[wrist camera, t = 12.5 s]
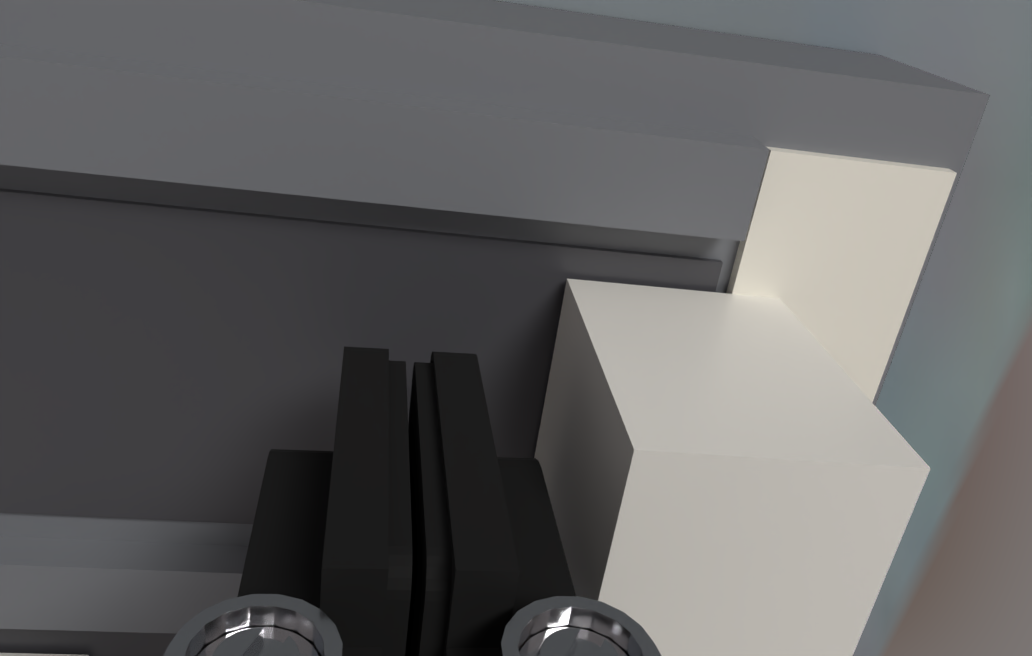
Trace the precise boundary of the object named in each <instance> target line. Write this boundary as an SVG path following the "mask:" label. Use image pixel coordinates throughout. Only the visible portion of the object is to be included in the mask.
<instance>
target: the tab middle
mask: <svg viewBox="0 0 1032 656" xmlns="http://www.w3.org/2000/svg"><path fill="white" fill-rule="evenodd" d="M0 656H89V655H76V654H33V653H0Z"/></svg>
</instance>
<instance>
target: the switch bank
mask: <svg viewBox="0 0 1032 656" xmlns="http://www.w3.org/2000/svg"><path fill="white" fill-rule="evenodd" d="M989 97H990V95H988V94H986V93H983V92H980V91H977V90H975V89H972V88H969V87H966V86H964V85H961V84H958V83H956V82H953V81H950V80H947V79H945V78H942V77H939V76H936V75H934V74H931V73H928V72H925V71H923V70H920V69H917V68H915V67H912V66H909V65H906V64H904V63H901V62H898V61H895V60H893V59H890V58H887V57H884V56H882V55H876V54H869V53H862V52H855V51H848V50H841V49H833V48H826V47H819V46H812V45H805V44H798V43H791V42H784V41H777V40H770V39H763V38H756V37H749V36H742V35H735V34H728V33H720V32H713V31H706V30H699V29H692V28H685V27H678V26H671V25H664V24H657V23H650V22H643V21H636V20H629V19H622V18H614V17H607V16H600V15H593V14H586V13H579V12H572V11H565V10H558V9H551V8H544V7H537V6H530V5H523V4H516V3H508V2H501V1H494V0H0V653H33V654H76V655H89V656H163V655H164V653H165V651H166V649H167V647H168V645H169V644H170V642H171V641H172V640H173V638H174V637H175V635H176V634H177V633H178V631H179V630H180V629H181V627H182V626H183V625H184V624H185V623H187V622H188V621H189V620H191V619H192V618H193V617H194V616H196V615H197V614H198V613H200V612H201V611H202V610H204V609H206V608H209V607H211V606H213V605H215V604H218V603H220V602H222V601H224V600H227V599H231V598H236V597H237V596H238V592H239V587H240V583H241V578H242V573H243V569H244V564H245V560H246V555H247V550H248V546H249V541H250V536H251V532H252V527H253V523H254V518H255V513H256V509H257V504H258V500H259V495H260V490H261V486H262V481H263V476H264V472H265V467H266V463H267V458H268V455H269V451H270V450H271V449H284V450H313V451H334V441H335V431H336V421H337V411H338V401H339V391H340V381H341V371H342V361H343V352H344V346H345V347H363V348H382V349H389V360H390V361H406V379H407V408H408V421H409V410H410V398H411V387H412V375H413V366H414V362H423V363H430V359H431V354H432V352H451V353H470V354H476V355H477V358H478V363H479V368H480V373H481V378H482V383H483V388H484V393H485V398H486V403H487V408H488V413H489V419H490V424H491V429H492V434H493V439H494V444H495V449H496V454H497V457H511V458H534V456H535V451H536V445H537V440H538V434H539V429H540V423H541V418H542V412H543V407H544V401H545V396H546V390H547V385H548V379H549V374H550V369H551V363H552V358H553V352H554V347H555V341H556V336H557V330H558V325H559V319H560V314H561V308H562V303H563V297H564V292H565V286H566V281H567V279H578V280H588V281H599V282H610V283H621V284H631V285H642V286H653V287H664V288H674V289H685V290H696V291H707V292H717V293H728V294H739V295H749V296H760V297H771V298H780V299H781V301H782V302H783V303H784V304H785V305H786V306H787V307H788V308H789V310H790V311H791V312H792V313H793V314H794V315H795V316H796V317H797V319H798V320H799V321H800V322H801V323H802V324H803V325H804V326H805V328H806V329H807V330H808V331H809V332H810V333H811V334H812V335H813V337H814V338H815V339H816V340H817V341H818V342H819V343H820V344H821V346H822V347H823V348H824V349H825V350H826V351H827V352H828V353H829V355H830V356H831V357H832V358H833V359H834V360H835V361H836V363H837V364H838V365H839V366H840V367H841V368H842V369H843V370H844V372H845V373H846V374H847V375H848V376H849V377H850V378H851V379H852V381H853V382H854V383H855V384H856V385H857V386H858V387H859V388H860V390H861V391H862V392H863V393H864V394H865V395H866V396H867V397H868V399H869V400H870V401H871V402H872V403H873V404H874V405H876V402H877V400H878V397H879V394H880V391H881V389H882V386H883V383H884V381H885V378H886V375H887V373H888V370H889V367H890V364H891V362H892V359H893V356H894V354H895V351H896V348H897V346H898V343H899V340H900V337H901V335H902V332H903V329H904V327H905V324H906V321H907V319H908V316H909V313H910V310H911V308H912V305H913V302H914V300H915V297H916V294H917V292H918V289H919V286H920V283H921V281H922V278H923V275H924V273H925V270H926V267H927V265H928V262H929V259H930V256H931V254H932V251H933V248H934V246H935V243H936V240H937V238H938V235H939V232H940V229H941V227H942V224H943V221H944V219H945V216H946V213H947V211H948V208H949V205H950V202H951V200H952V197H953V194H954V192H955V189H956V186H957V184H958V181H959V178H960V175H961V173H962V170H963V167H964V165H965V162H966V159H967V157H968V154H969V151H970V148H971V146H972V143H973V140H974V138H975V135H976V132H977V129H978V127H979V124H980V121H981V119H982V116H983V113H984V111H985V108H986V105H987V102H988V100H989Z"/></svg>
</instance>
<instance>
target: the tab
mask: <svg viewBox="0 0 1032 656" xmlns="http://www.w3.org/2000/svg"><path fill="white" fill-rule="evenodd" d="M534 458H536V459H537V460H538V461H539V463H540V466H541V468H542V472H543V476H544V479H545V483H546V487H547V490H548V494H549V498H550V501H551V505H552V509H553V512H554V516H555V520H556V524H557V527H558V531H559V535H560V538H561V542H562V546H563V549H564V553H565V557H566V560H567V564H568V568H569V572H570V575H571V579H572V583H573V586H574V590H575V594H576V596H580V597H584V598H588V599H592V600H597V601H601V602H604V603H606V604H608V605H610V606H612V607H614V608H616V609H619V610H621V611H623V612H624V613H626V614H627V615H628V616H629V617H631V618H632V619H633V620H635V621H636V622H637V623H638V624H640V625H641V626H642V627H643V629H644V630H645V631H646V633H647V634H648V635H649V636H650V638H651V639H652V640H653V642H654V643H655V645H656V647H657V648H658V650H659V652H660V654H661V656H853V653H854V651H855V649H856V646H857V644H858V641H859V639H860V637H861V634H862V632H863V629H864V627H865V625H866V622H867V620H868V617H869V615H870V613H871V610H872V608H873V605H874V603H875V601H876V598H877V596H878V593H879V591H880V589H881V586H882V584H883V581H884V579H885V577H886V574H887V572H888V569H889V567H890V565H891V562H892V560H893V557H894V555H895V553H896V550H897V548H898V545H899V543H900V541H901V538H902V536H903V533H904V531H905V529H906V526H907V524H908V521H909V519H910V517H911V514H912V512H913V509H914V507H915V505H916V502H917V500H918V497H919V495H920V493H921V490H922V488H923V485H924V483H925V481H926V478H927V476H928V473H929V471H930V469H931V468H930V467H929V466H928V465H927V464H926V463H925V462H924V461H923V459H922V458H921V457H920V456H919V455H918V454H917V453H916V452H915V450H914V449H913V448H912V447H911V446H910V445H909V444H908V443H907V441H906V440H905V439H904V438H903V437H902V436H901V435H900V434H899V432H898V431H897V430H896V429H895V428H894V427H893V426H892V425H891V423H890V422H889V421H888V420H887V419H886V418H885V417H884V415H883V414H882V413H881V412H880V411H879V410H878V409H877V408H876V406H875V405H874V404H873V403H872V402H871V401H870V400H869V399H868V397H867V396H866V395H865V394H864V393H863V392H862V391H861V390H860V388H859V387H858V386H857V385H856V384H855V383H854V382H853V381H852V379H851V378H850V377H849V376H848V375H847V374H846V373H845V372H844V370H843V369H842V368H841V367H840V366H839V365H838V364H837V363H836V361H835V360H834V359H833V358H832V357H831V356H830V355H829V353H828V352H827V351H826V350H825V349H824V348H823V347H822V346H821V344H820V343H819V342H818V341H817V340H816V339H815V338H814V337H813V335H812V334H811V333H810V332H809V331H808V330H807V329H806V328H805V326H804V325H803V324H802V323H801V322H800V321H799V320H798V319H797V317H796V316H795V315H794V314H793V313H792V312H791V311H790V310H789V308H788V307H787V306H786V305H785V304H784V303H783V302H782V301H781V299H780V298H771V297H760V296H749V295H739V294H728V293H717V292H707V291H696V290H685V289H674V288H664V287H653V286H642V285H631V284H621V283H610V282H599V281H588V280H578V279H567V281H566V286H565V292H564V297H563V303H562V308H561V314H560V319H559V325H558V330H557V336H556V341H555V347H554V352H553V358H552V363H551V369H550V374H549V379H548V385H547V390H546V396H545V401H544V407H543V412H542V418H541V423H540V429H539V434H538V440H537V445H536V451H535V456H534Z"/></svg>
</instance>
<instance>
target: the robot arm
mask: <svg viewBox="0 0 1032 656" xmlns="http://www.w3.org/2000/svg"><path fill="white" fill-rule="evenodd" d="M163 656H661V654H660V652H659V650H658V648H657V647H656V645H655V643H654V642H653V640H652V639H651V638H650V636H649V635H648V634H647V633H646V631H645V630H644V629H643V627H642V626H641V625H640V624H638V623H637V622H636V621H635V620H633V619H632V618H631V617H629V616H628V615H627V614H626V613H624V612H623V611H621V610H619V609H616V608H614V607H612V606H610V605H608V604H606V603H604V602H601V601H597V600H592V599H588V598H584V597H580V596H576V594H575V590H574V586H573V583H572V579H571V575H570V572H569V568H568V564H567V560H566V557H565V553H564V549H563V546H562V542H561V538H560V535H559V531H558V527H557V524H556V520H555V516H554V512H553V509H552V505H551V501H550V498H549V494H548V490H547V487H546V483H545V479H544V476H543V472H542V468H541V466H540V463H539V461H538V460H537V459H536V458H511V457H497V454H496V449H495V444H494V439H493V434H492V429H491V424H490V419H489V413H488V408H487V403H486V398H485V393H484V388H483V383H482V378H481V373H480V368H479V363H478V358H477V355H476V354H470V353H451V352H432V354H431V359H430V363H423V362H414V366H413V375H412V387H411V398H410V410H409V421H408V408H407V379H406V361H390V360H389V349H382V348H363V347H345V346H344V352H343V361H342V371H341V381H340V391H339V401H338V411H337V421H336V431H335V441H334V451H313V450H284V449H271V450H270V451H269V455H268V458H267V463H266V467H265V472H264V476H263V481H262V486H261V490H260V495H259V500H258V504H257V509H256V513H255V518H254V523H253V527H252V532H251V536H250V541H249V546H248V550H247V555H246V560H245V564H244V569H243V573H242V578H241V583H240V587H239V592H238V596H237V597H236V598H231V599H227V600H224V601H222V602H220V603H218V604H215V605H213V606H211V607H209V608H206V609H204V610H202V611H201V612H200V613H198V614H197V615H196V616H194V617H193V618H192V619H191V620H189V621H188V622H187V623H185V624H184V625H183V626H182V627H181V629H180V630H179V631H178V633H177V634H176V635H175V637H174V638H173V640H172V641H171V642H170V644H169V645H168V647H167V649H166V651H165V653H164V655H163Z"/></svg>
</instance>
